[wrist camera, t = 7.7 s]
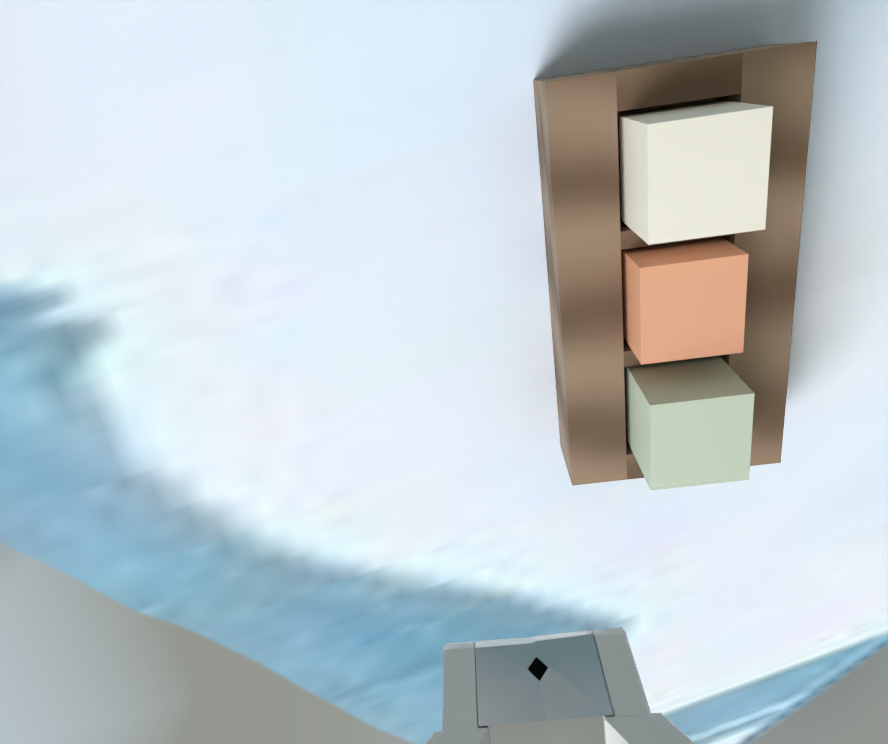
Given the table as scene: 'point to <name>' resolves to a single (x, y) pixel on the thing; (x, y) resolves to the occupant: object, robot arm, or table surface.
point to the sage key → (689, 422)
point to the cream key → (695, 170)
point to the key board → (604, 236)
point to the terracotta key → (684, 299)
